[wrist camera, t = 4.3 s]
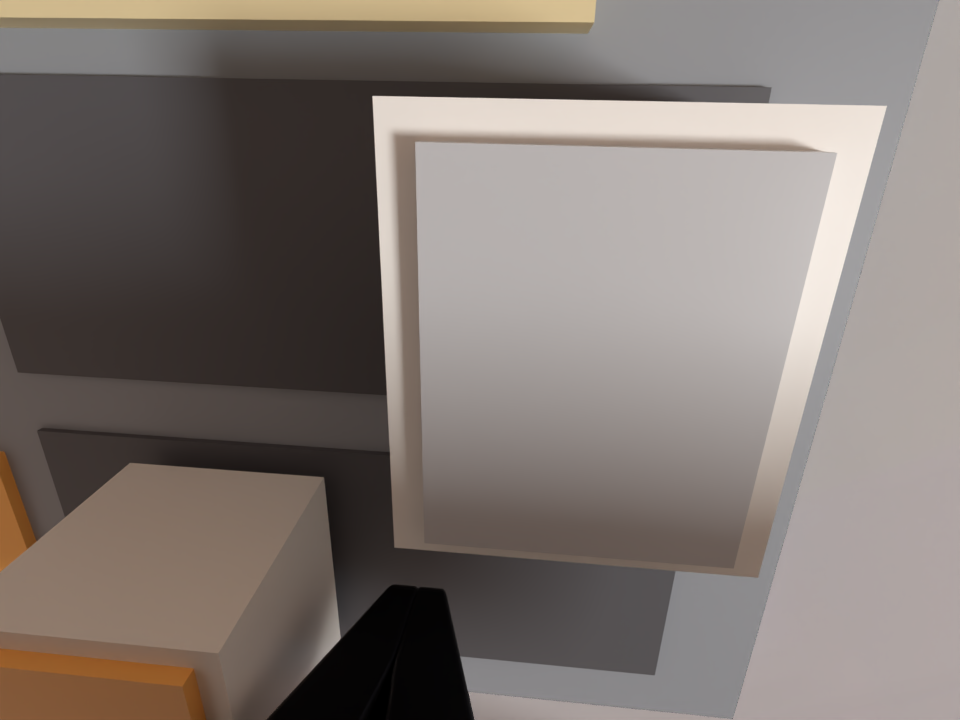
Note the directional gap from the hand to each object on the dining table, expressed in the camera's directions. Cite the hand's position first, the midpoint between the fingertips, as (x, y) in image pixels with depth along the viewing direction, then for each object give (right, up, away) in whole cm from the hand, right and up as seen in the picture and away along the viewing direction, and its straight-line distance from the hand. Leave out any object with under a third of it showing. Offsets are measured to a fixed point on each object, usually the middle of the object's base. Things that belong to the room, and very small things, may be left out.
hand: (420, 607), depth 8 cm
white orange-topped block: (-3, 0, +1) cm, 3 cm away
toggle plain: (+2, +5, -2) cm, 5 cm away
